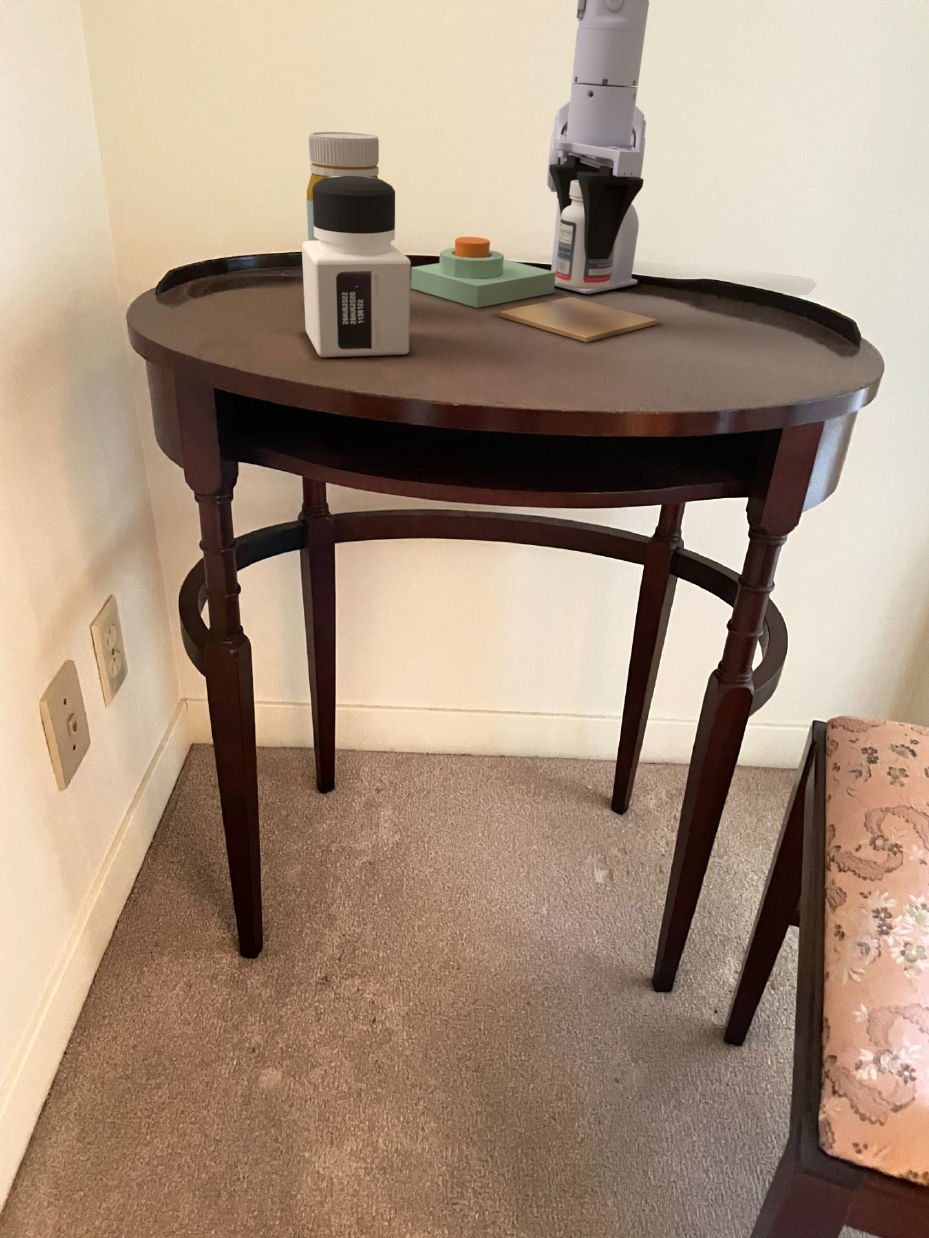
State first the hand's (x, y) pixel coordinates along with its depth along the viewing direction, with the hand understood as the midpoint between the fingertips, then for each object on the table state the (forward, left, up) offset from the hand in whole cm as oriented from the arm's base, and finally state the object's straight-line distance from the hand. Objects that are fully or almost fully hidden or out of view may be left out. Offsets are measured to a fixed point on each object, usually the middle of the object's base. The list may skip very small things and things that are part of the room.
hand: (585, 252), depth 85 cm
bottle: (+16, -16, -6) cm, 24 cm away
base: (-1, -14, -6) cm, 15 cm away
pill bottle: (0, 0, -3) cm, 3 cm away
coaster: (0, 0, -6) cm, 6 cm away
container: (+23, -6, -6) cm, 25 cm away
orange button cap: (+1, -14, -3) cm, 14 cm away
